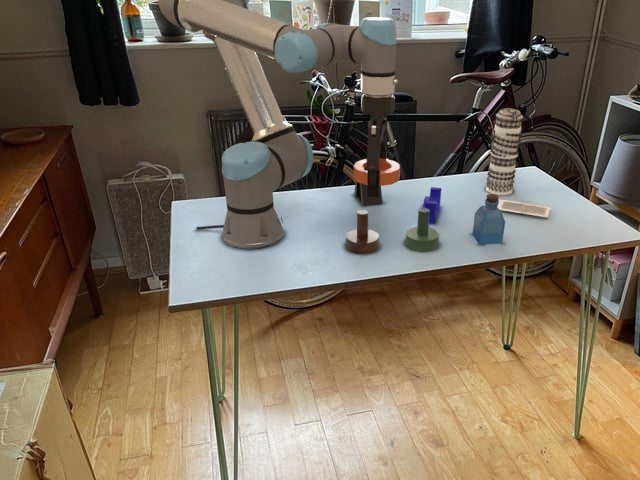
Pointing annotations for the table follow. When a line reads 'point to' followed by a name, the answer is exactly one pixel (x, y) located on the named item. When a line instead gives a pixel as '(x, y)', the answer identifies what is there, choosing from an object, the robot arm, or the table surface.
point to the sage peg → (422, 234)
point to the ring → (387, 172)
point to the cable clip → (433, 203)
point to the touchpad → (524, 208)
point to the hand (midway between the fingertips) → (376, 187)
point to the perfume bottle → (489, 222)
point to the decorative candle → (504, 151)
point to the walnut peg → (362, 236)
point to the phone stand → (366, 195)
